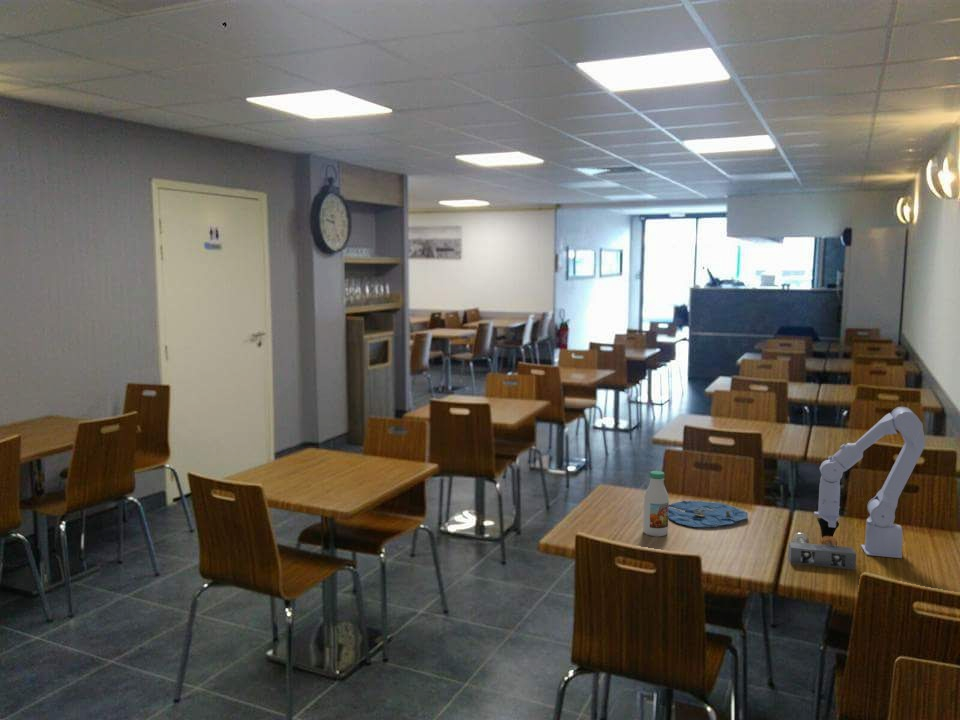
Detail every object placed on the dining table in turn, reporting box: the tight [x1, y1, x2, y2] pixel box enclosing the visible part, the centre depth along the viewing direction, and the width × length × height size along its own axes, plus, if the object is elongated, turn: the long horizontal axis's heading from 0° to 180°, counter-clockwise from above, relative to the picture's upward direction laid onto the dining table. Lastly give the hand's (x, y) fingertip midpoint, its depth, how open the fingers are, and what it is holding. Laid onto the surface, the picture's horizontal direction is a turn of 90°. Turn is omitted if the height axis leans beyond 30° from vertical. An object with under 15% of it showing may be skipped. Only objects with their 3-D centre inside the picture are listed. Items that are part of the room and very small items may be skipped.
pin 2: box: [820, 535, 842, 562], centre depth 218 cm, size 13×4×4 cm, turn 165°
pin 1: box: [792, 532, 812, 559], centre depth 220 cm, size 13×4×4 cm, turn 165°
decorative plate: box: [668, 500, 749, 529], centre depth 256 cm, size 30×30×5 cm
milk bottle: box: [642, 470, 670, 537], centre depth 238 cm, size 8×8×20 cm
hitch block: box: [787, 541, 857, 571], centre depth 214 cm, size 17×5×5 cm, turn 74°
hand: (826, 542), depth 227 cm, fingers closed
